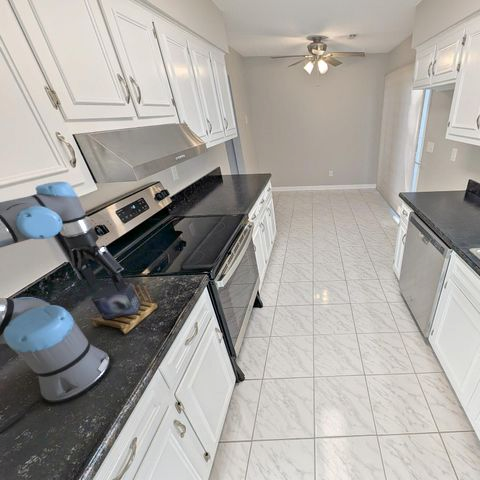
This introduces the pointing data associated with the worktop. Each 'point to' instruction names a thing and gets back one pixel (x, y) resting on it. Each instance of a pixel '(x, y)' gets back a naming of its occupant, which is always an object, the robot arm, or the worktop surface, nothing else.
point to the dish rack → (136, 318)
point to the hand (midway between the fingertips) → (107, 286)
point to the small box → (116, 302)
